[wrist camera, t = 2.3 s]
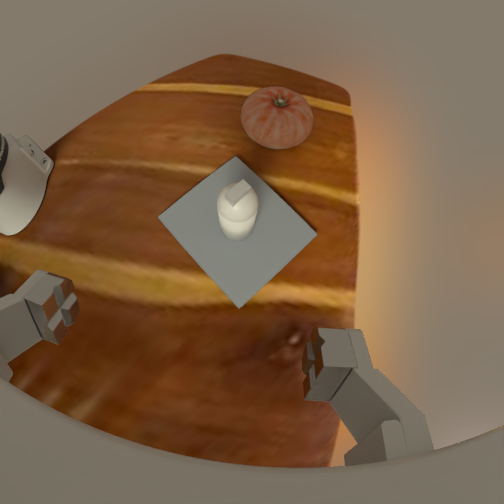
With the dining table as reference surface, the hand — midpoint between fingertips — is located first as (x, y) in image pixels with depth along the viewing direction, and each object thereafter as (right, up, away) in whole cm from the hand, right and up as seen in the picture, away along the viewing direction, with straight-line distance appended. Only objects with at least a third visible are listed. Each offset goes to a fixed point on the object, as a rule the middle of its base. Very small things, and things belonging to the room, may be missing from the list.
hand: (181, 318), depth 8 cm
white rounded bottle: (0, +6, +28) cm, 28 cm away
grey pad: (0, +5, +29) cm, 29 cm away
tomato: (+6, +21, +33) cm, 40 cm away
